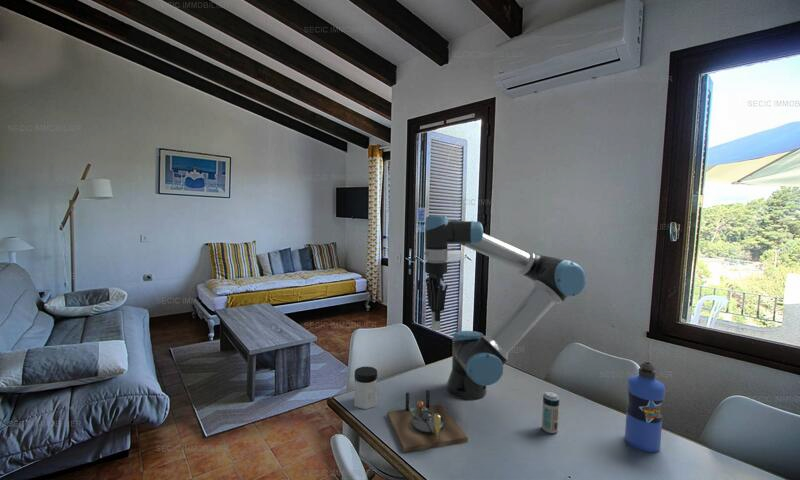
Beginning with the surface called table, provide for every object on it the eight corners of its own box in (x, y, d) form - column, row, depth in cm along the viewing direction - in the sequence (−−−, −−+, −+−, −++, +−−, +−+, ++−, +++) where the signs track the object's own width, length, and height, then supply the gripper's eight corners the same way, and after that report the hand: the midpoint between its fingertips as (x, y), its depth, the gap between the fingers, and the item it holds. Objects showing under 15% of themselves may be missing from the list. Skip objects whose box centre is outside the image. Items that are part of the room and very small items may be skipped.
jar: (359, 412, 127) (360, 378, 126) (349, 401, 134) (349, 369, 133) (382, 404, 132) (382, 372, 131) (371, 395, 139) (371, 364, 138)
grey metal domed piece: (405, 410, 125) (405, 387, 125) (433, 407, 128) (434, 385, 127) (421, 445, 107) (421, 418, 106) (453, 441, 109) (454, 415, 108)
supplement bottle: (557, 427, 120) (559, 391, 119) (558, 435, 116) (560, 398, 115) (541, 424, 122) (543, 389, 121) (541, 432, 117) (543, 396, 116)
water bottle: (618, 433, 117) (622, 356, 116) (647, 434, 117) (653, 357, 115) (635, 452, 108) (641, 369, 106) (668, 453, 108) (674, 370, 106)
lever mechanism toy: (441, 408, 131) (442, 387, 130) (467, 441, 112) (468, 418, 111) (387, 415, 125) (387, 394, 125) (404, 452, 106) (404, 427, 106)
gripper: (418, 259, 130) (418, 325, 132) (433, 264, 118) (433, 336, 120) (438, 258, 133) (437, 323, 134) (455, 263, 120) (454, 334, 122)
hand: (435, 329), depth 127 cm, fingers closed
